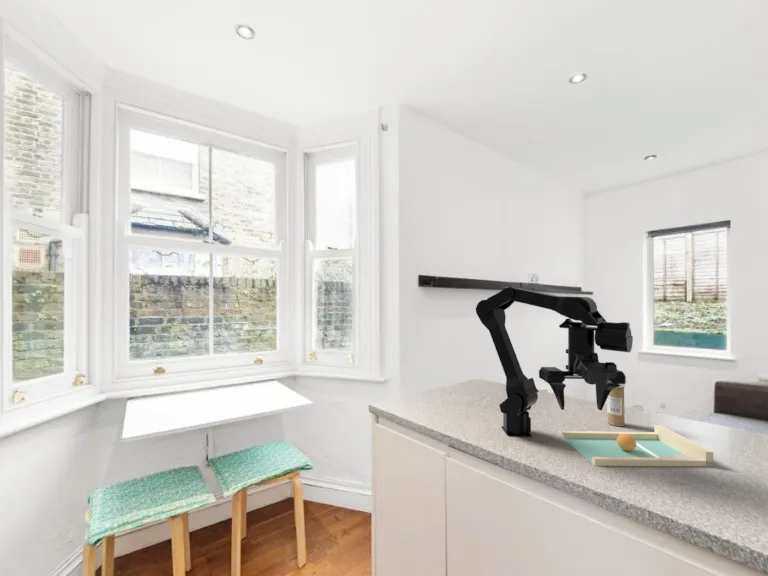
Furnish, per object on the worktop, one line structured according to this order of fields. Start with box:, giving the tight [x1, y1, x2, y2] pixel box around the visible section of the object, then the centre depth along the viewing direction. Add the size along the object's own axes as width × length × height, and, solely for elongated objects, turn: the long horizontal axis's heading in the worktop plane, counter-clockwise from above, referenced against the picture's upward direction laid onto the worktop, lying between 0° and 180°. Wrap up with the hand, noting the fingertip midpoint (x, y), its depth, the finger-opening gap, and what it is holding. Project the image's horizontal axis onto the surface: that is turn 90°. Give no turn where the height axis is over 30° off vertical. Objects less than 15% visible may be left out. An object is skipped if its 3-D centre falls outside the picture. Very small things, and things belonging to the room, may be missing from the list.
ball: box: [617, 433, 636, 451], centre depth 87 cm, size 4×4×4 cm
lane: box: [561, 424, 714, 467], centre depth 87 cm, size 26×16×4 cm, turn 88°
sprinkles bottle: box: [606, 384, 626, 427], centre depth 106 cm, size 5×5×14 cm
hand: (580, 409), depth 88 cm, fingers open, 9 cm apart
